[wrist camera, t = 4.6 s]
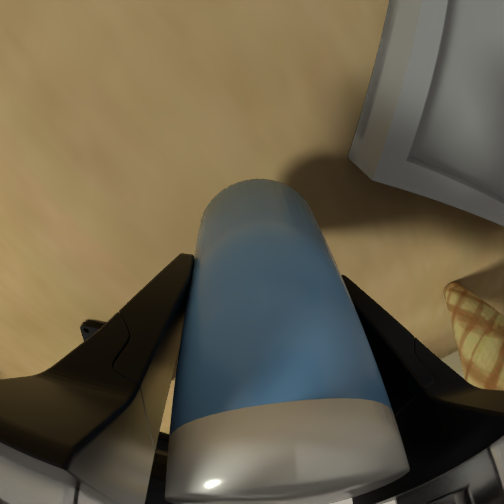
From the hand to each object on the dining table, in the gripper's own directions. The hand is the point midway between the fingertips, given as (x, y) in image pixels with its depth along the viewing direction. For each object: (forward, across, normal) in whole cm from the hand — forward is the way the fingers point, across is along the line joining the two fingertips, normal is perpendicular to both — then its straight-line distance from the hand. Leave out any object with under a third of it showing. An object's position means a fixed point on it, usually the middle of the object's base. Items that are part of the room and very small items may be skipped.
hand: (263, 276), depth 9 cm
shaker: (+3, 0, 0) cm, 3 cm away
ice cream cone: (+6, -16, +4) cm, 18 cm away
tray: (+6, -12, -12) cm, 18 cm away
